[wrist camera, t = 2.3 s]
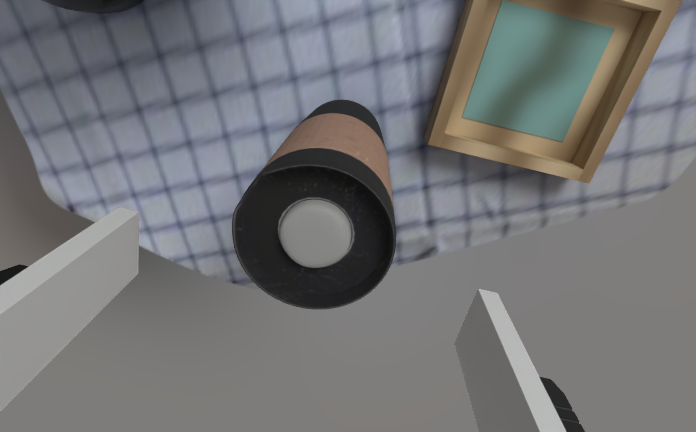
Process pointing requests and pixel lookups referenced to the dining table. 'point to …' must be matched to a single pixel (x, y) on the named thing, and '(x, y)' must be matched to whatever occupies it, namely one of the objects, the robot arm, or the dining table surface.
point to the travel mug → (320, 212)
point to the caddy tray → (545, 79)
